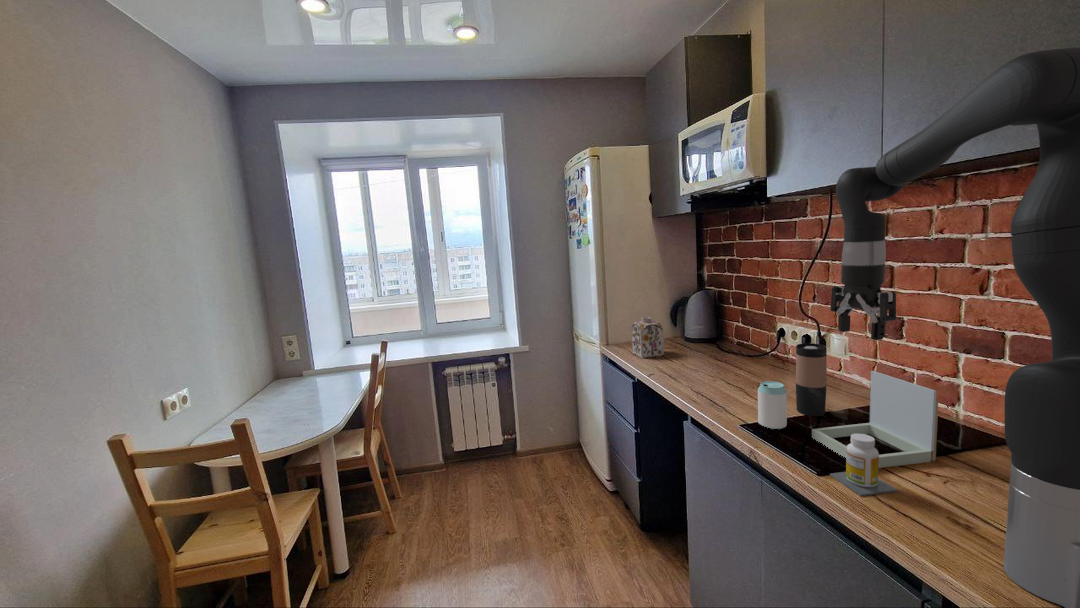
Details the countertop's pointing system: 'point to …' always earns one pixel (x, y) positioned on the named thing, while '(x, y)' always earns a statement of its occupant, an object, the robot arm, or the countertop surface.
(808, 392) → the travel mug
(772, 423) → the can
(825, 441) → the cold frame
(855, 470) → the supplement bottle
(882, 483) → the slate coaster
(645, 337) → the decorative jar
